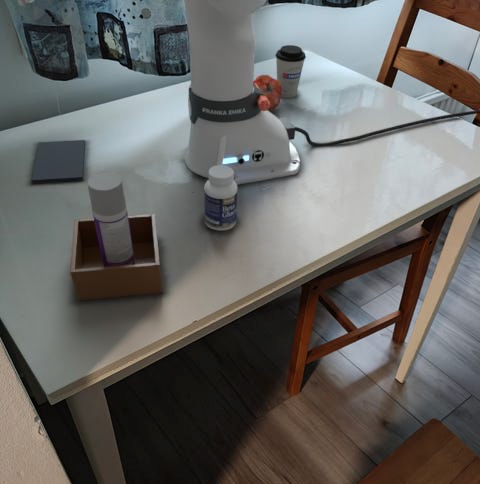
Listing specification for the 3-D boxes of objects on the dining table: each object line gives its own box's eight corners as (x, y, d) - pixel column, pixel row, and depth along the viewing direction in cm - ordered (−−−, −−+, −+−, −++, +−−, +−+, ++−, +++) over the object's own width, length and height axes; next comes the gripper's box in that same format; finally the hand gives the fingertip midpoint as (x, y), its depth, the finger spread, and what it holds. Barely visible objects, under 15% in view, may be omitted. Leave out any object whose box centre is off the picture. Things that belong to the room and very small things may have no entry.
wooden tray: (157, 241, 85) (155, 213, 81) (162, 292, 77) (159, 264, 73) (81, 247, 84) (74, 219, 80) (77, 300, 75) (70, 272, 71)
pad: (85, 142, 106) (84, 139, 106) (83, 180, 97) (82, 177, 96) (39, 144, 105) (38, 142, 105) (32, 183, 96) (31, 180, 95)
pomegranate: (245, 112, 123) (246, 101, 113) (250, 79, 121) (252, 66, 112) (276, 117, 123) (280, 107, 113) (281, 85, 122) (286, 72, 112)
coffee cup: (268, 88, 127) (272, 44, 120) (296, 86, 128) (301, 42, 121) (277, 100, 122) (281, 55, 115) (305, 98, 124) (310, 53, 116)
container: (105, 257, 81) (88, 171, 70) (136, 256, 82) (123, 171, 71) (102, 277, 78) (84, 191, 67) (134, 276, 79) (121, 190, 68)
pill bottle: (225, 235, 87) (225, 184, 80) (198, 224, 89) (197, 173, 82) (242, 219, 90) (244, 169, 83) (216, 209, 92) (216, 158, 85)
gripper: (-107, -146, 50) (-20, 10, 58) (6, -131, 66) (64, -10, 73) (-150, -114, 53) (-60, 32, 60) (-30, -107, 69) (29, 7, 76)
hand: (9, 8), depth 67 cm, fingers open, 8 cm apart
